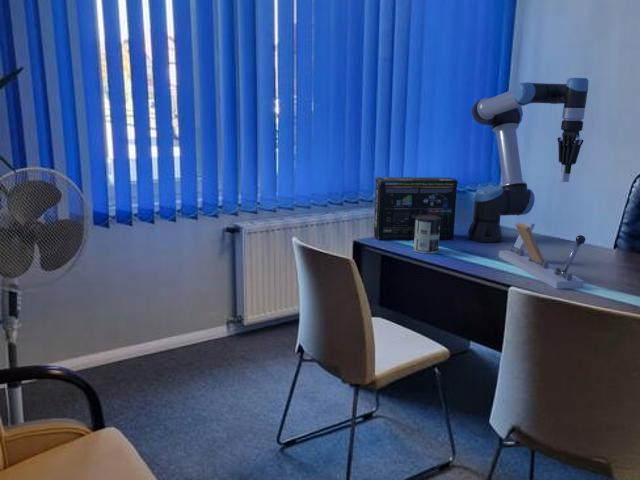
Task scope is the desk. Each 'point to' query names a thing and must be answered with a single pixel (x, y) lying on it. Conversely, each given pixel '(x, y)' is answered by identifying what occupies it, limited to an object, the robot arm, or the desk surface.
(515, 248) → the pale blue paddle
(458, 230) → the desk surface
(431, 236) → the coffee can
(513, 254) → the switch panel
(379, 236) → the router box
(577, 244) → the grey metal toggle
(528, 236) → the brown paddle
